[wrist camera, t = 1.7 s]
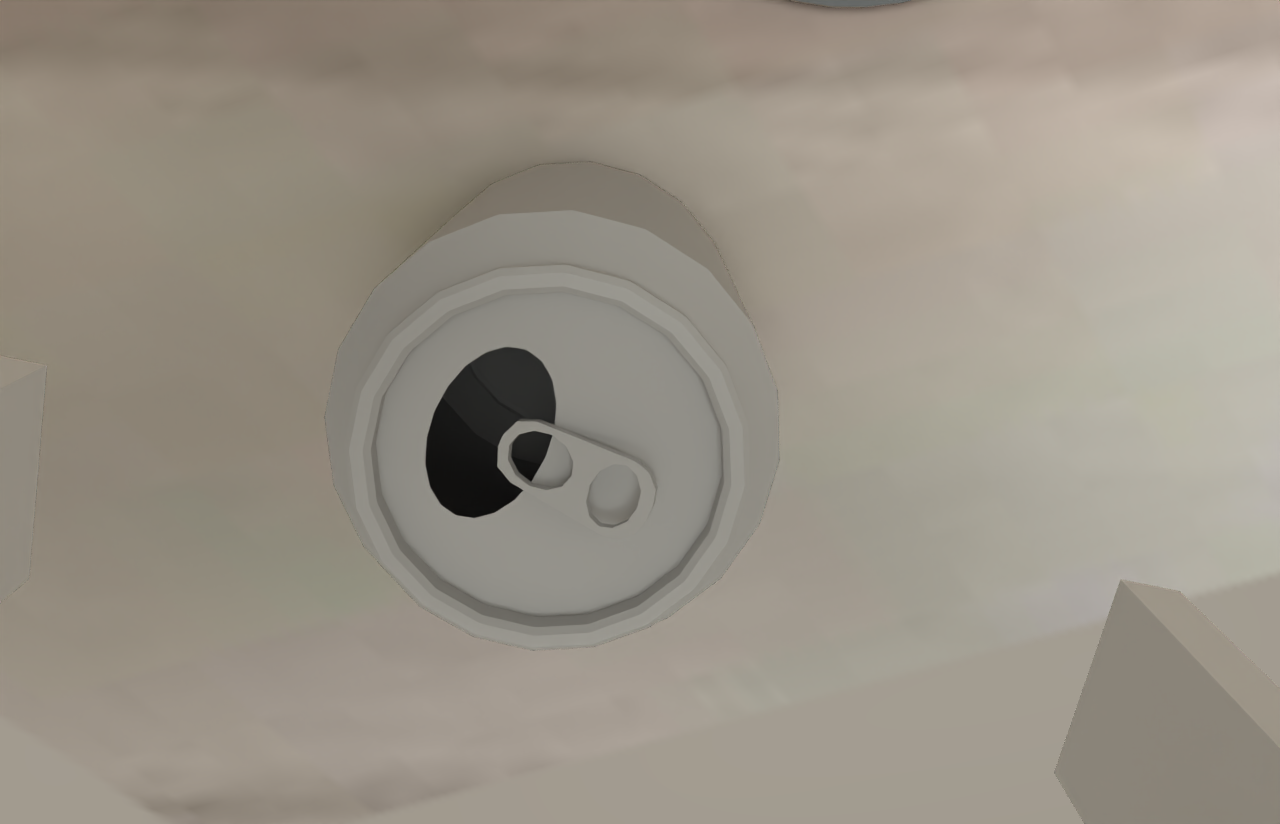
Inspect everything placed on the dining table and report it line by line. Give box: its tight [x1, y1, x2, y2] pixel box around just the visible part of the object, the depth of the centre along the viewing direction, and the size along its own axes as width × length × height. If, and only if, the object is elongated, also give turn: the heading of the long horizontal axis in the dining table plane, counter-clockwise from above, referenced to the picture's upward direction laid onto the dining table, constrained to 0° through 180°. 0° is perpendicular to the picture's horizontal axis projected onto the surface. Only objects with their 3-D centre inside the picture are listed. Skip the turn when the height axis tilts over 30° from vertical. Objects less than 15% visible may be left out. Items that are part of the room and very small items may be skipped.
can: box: [325, 162, 780, 651], centre depth 24 cm, size 8×8×12 cm
